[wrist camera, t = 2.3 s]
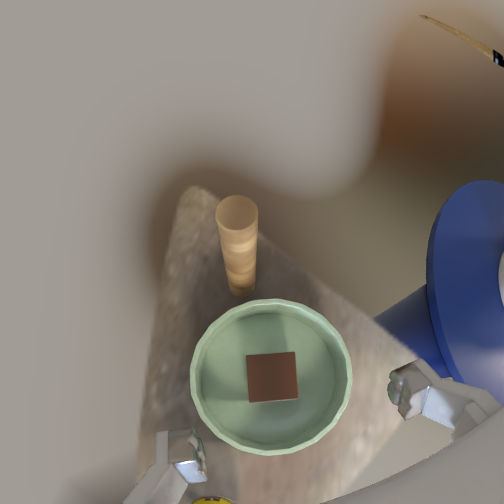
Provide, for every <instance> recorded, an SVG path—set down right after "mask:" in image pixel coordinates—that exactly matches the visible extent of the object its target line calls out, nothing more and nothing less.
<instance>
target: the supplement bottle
mask: <svg viewBox="0 0 504 504" xmlns="http://www.w3.org/2000/svg"><path fill="white" fill-rule="evenodd" d="M192 504H236V503H235V502H234V501H232V500H230V499H228V498H225V497H222V496H214V495H211V496H204V497H201V498H199V499H197V500H195V501H194V502H193V503H192Z"/></svg>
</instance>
